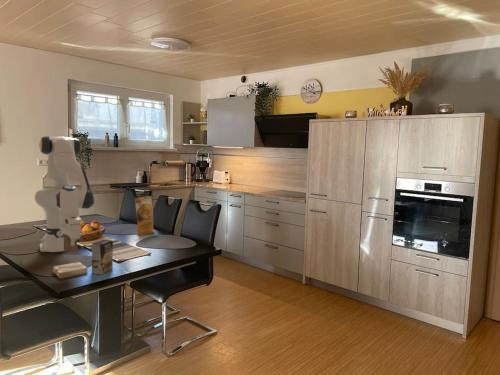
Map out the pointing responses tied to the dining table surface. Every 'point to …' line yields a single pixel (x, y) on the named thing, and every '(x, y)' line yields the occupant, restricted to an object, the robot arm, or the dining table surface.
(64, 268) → the base slab
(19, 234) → the dining table surface
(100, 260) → the coffee box
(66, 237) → the walnut block
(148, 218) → the pancake mix bag
